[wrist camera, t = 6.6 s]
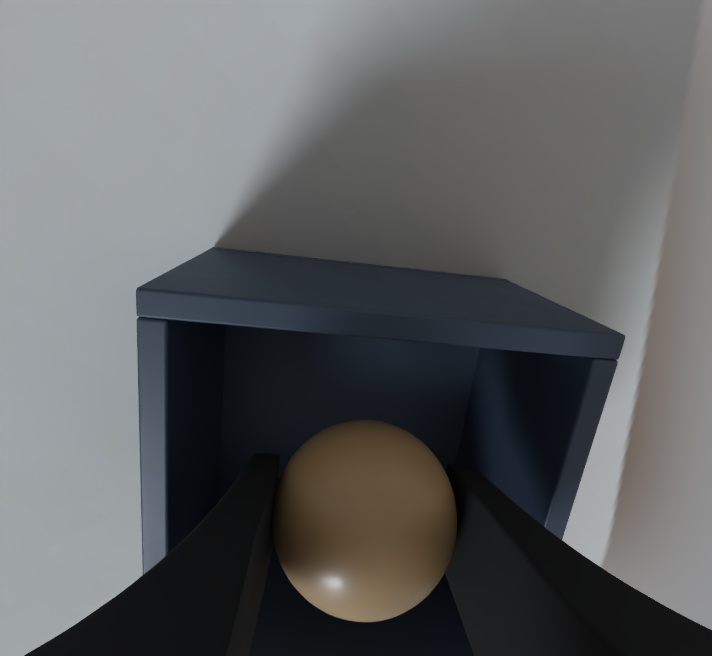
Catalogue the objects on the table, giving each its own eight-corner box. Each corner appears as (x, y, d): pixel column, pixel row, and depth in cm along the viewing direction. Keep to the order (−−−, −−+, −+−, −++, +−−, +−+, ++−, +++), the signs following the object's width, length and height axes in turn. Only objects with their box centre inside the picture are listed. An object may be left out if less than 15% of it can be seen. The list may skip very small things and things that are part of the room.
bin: (453, 515, 18) (520, 675, 12) (205, 505, 17) (144, 675, 11) (506, 279, 16) (627, 335, 9) (212, 246, 14) (133, 287, 8)
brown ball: (418, 524, 14) (463, 674, 9) (274, 518, 13) (254, 674, 9) (443, 396, 12) (508, 502, 8) (285, 384, 12) (267, 490, 8)
